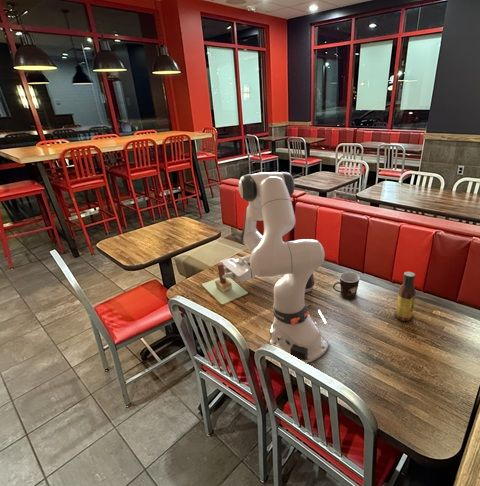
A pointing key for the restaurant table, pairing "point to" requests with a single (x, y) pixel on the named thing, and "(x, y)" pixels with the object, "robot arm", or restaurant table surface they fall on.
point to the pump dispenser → (309, 284)
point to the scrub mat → (227, 295)
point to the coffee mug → (348, 285)
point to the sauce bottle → (406, 298)
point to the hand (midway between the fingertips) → (220, 275)
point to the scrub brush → (222, 283)
